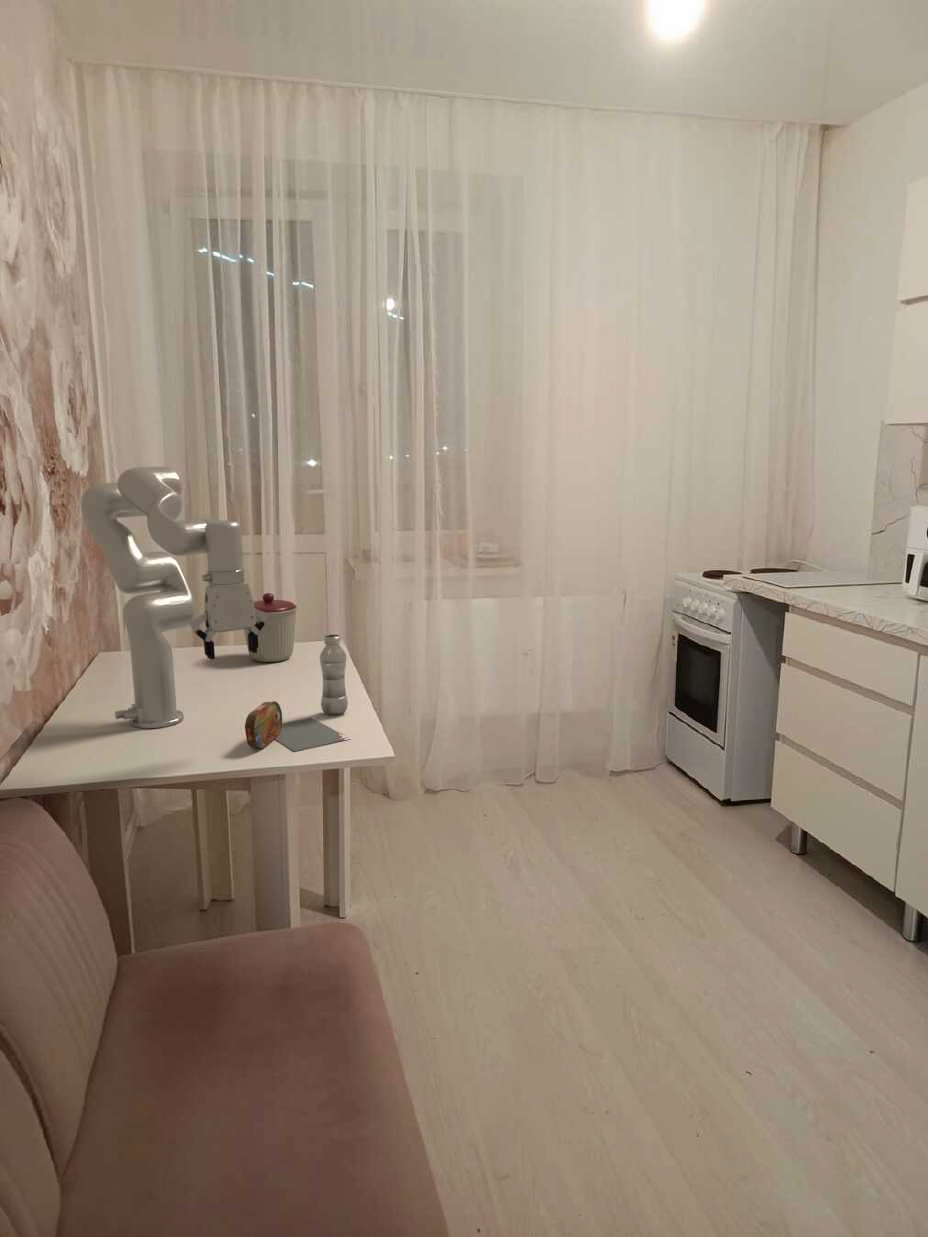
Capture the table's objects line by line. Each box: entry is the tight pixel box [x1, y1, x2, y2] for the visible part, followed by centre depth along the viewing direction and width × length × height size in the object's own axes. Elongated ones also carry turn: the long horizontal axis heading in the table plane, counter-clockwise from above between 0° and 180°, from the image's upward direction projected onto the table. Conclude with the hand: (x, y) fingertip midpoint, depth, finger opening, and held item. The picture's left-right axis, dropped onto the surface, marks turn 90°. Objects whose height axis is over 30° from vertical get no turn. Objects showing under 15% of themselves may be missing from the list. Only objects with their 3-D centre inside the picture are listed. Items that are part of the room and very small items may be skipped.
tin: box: [244, 700, 283, 749], centre depth 203 cm, size 15×3×8 cm, turn 168°
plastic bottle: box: [319, 634, 349, 715], centre depth 223 cm, size 6×7×20 cm
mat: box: [274, 717, 348, 753], centre depth 209 cm, size 14×20×1 cm
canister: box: [243, 592, 299, 663], centre depth 280 cm, size 18×18×21 cm
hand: (232, 655), depth 197 cm, fingers open, 9 cm apart
